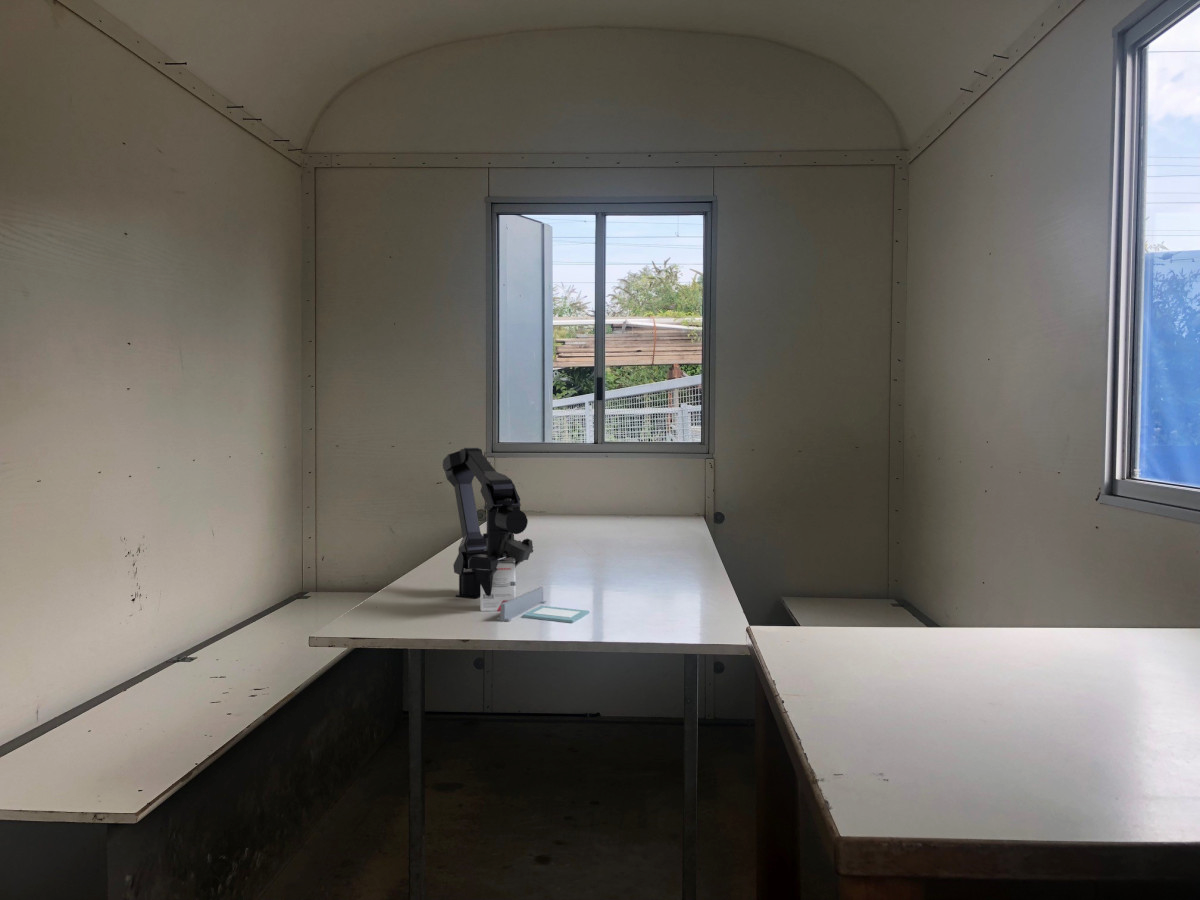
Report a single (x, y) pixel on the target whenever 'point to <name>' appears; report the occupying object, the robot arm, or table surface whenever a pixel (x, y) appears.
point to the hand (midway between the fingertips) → (497, 591)
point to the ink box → (499, 587)
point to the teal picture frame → (556, 614)
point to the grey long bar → (521, 604)
